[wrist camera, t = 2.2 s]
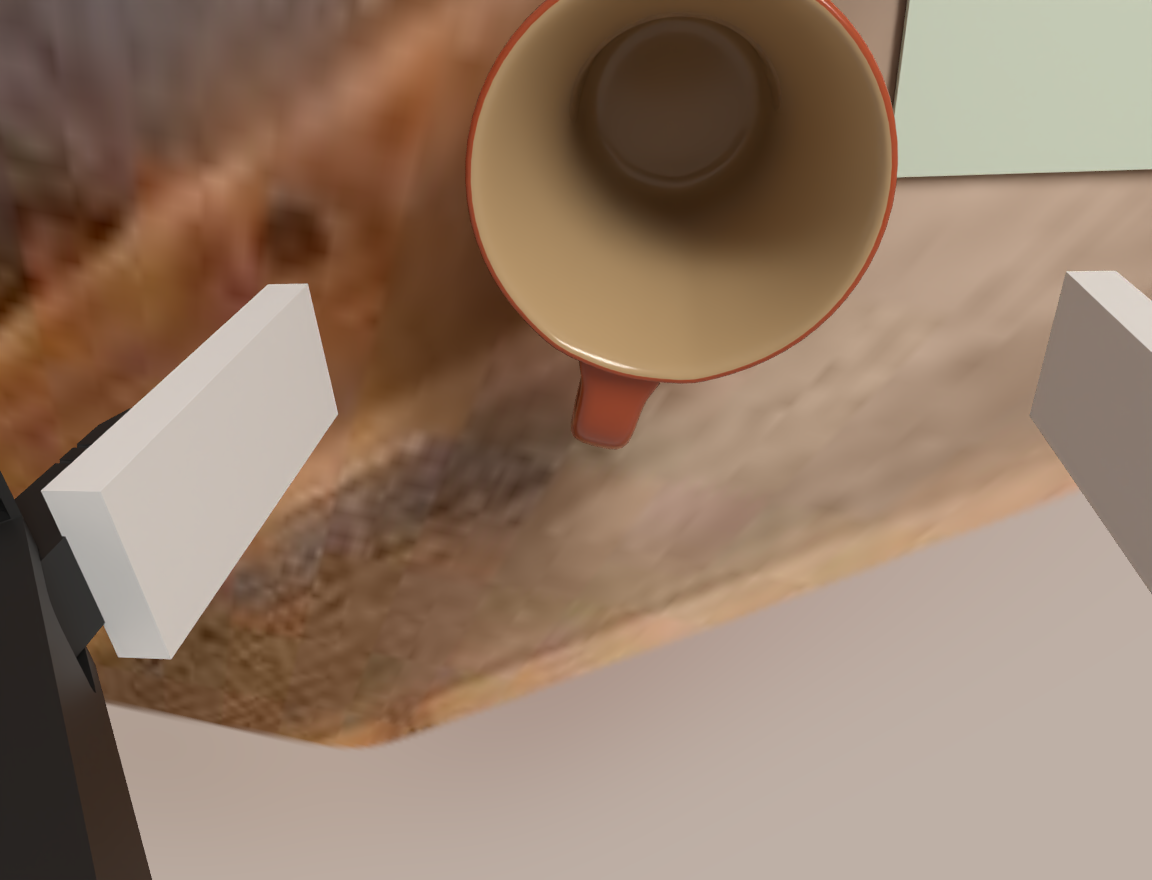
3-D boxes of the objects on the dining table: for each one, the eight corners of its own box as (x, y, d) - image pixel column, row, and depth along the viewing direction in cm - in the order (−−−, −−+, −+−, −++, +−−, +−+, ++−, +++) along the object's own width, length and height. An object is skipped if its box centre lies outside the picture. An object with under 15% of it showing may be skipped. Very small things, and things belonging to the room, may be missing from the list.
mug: (566, -108, 24) (506, -113, 15) (869, -23, 24) (982, 20, 15) (490, 288, 30) (418, 445, 21) (730, 349, 30) (754, 528, 22)
